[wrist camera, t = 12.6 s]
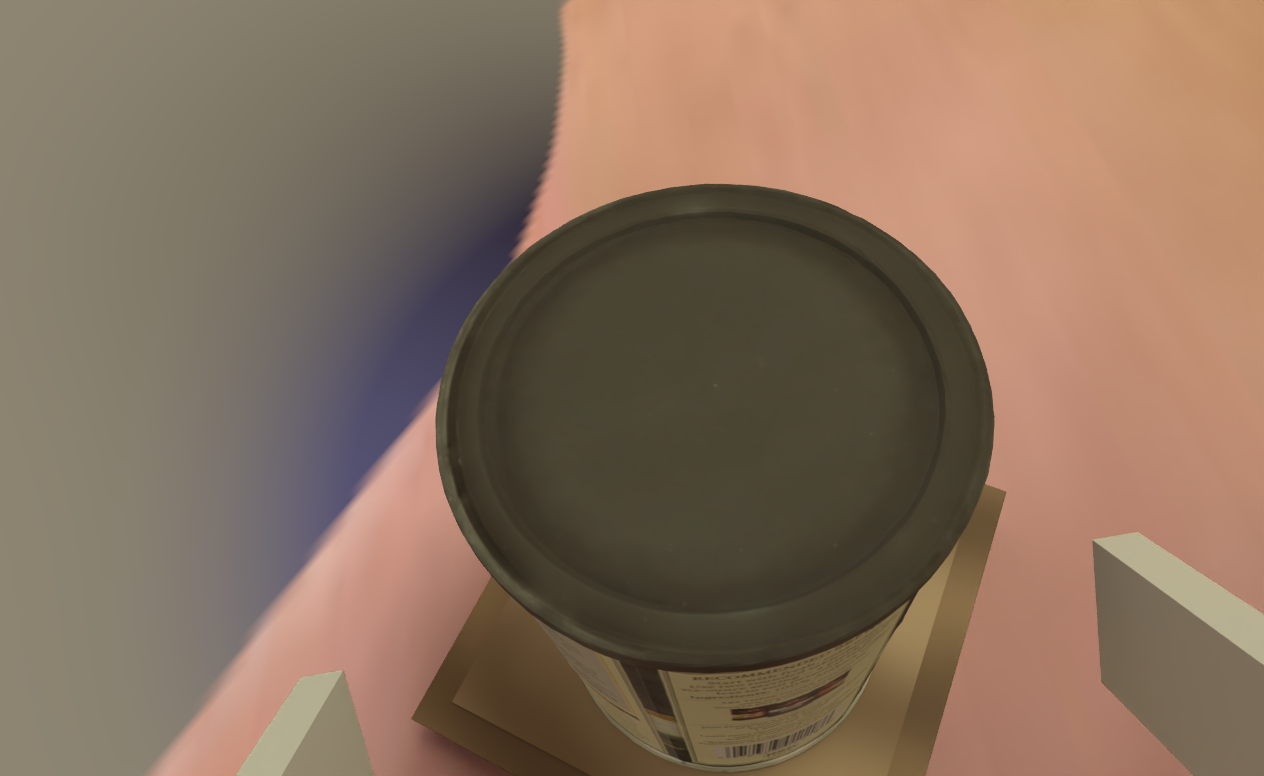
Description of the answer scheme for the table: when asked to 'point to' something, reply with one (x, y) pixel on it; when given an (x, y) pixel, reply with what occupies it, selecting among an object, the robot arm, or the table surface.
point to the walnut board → (625, 772)
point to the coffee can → (716, 457)
